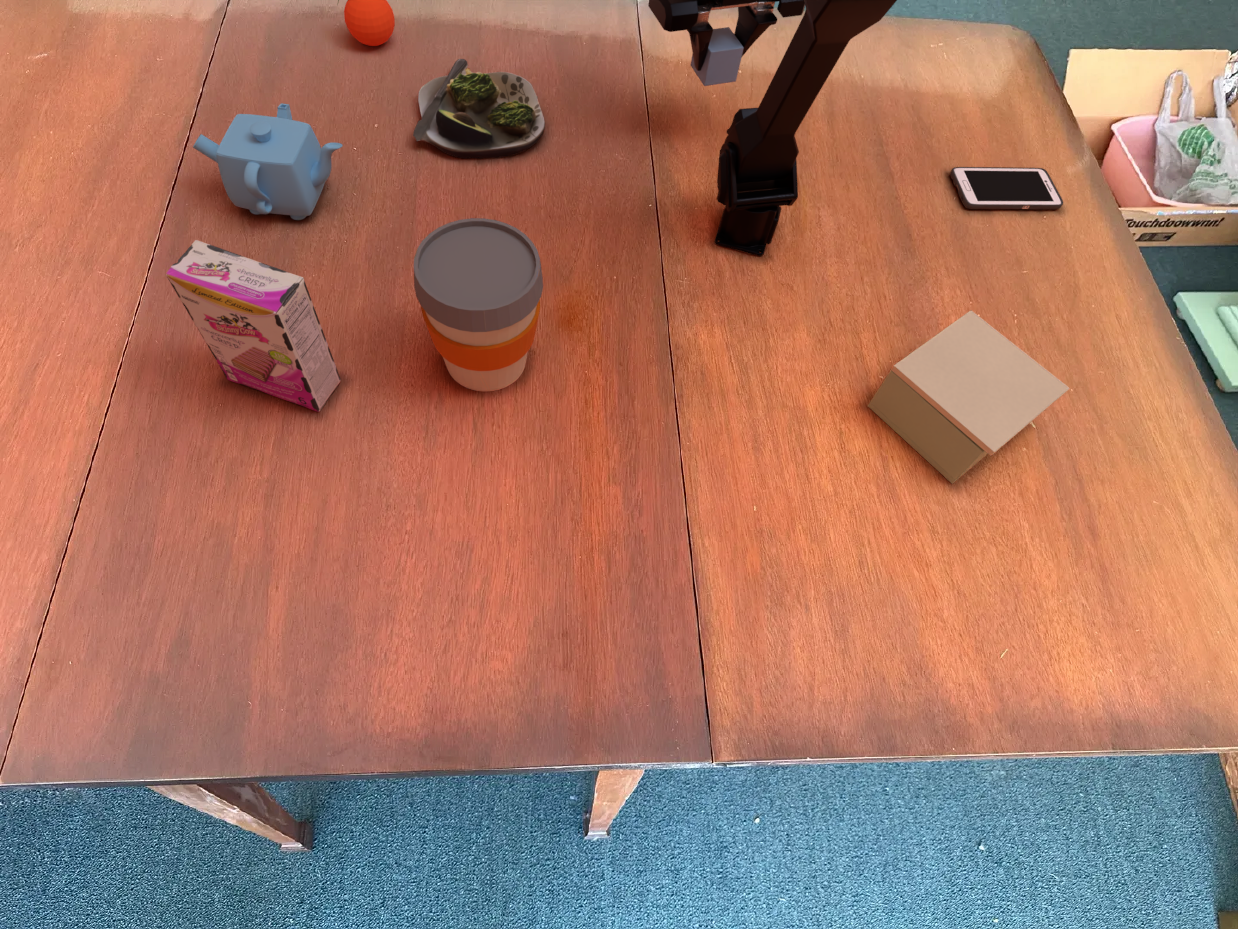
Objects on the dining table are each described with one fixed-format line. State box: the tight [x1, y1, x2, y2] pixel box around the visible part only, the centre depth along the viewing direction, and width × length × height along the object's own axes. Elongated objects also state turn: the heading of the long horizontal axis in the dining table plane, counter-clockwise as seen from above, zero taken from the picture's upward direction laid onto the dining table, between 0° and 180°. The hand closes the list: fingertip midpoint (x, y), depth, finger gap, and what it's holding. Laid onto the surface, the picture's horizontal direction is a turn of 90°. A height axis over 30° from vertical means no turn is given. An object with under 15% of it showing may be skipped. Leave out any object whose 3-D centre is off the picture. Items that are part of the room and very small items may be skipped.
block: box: [690, 26, 744, 87], centre depth 100 cm, size 5×5×5 cm
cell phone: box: [949, 166, 1064, 210], centre depth 110 cm, size 8×15×1 cm, turn 96°
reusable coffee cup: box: [413, 217, 544, 392], centre depth 81 cm, size 13×13×15 cm
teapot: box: [192, 103, 344, 221], centre depth 93 cm, size 18×14×10 cm
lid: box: [890, 309, 1071, 457], centre depth 83 cm, size 13×14×1 cm
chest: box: [867, 369, 989, 485], centre depth 86 cm, size 13×14×7 cm
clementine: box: [336, 0, 396, 47], centre depth 111 cm, size 8×7×7 cm
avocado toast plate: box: [412, 58, 546, 159], centre depth 106 cm, size 19×18×5 cm
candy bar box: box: [165, 239, 342, 413], centre depth 76 cm, size 11×5×16 cm, turn 71°
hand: (714, 66), depth 101 cm, fingers closed on block, 4 cm apart
